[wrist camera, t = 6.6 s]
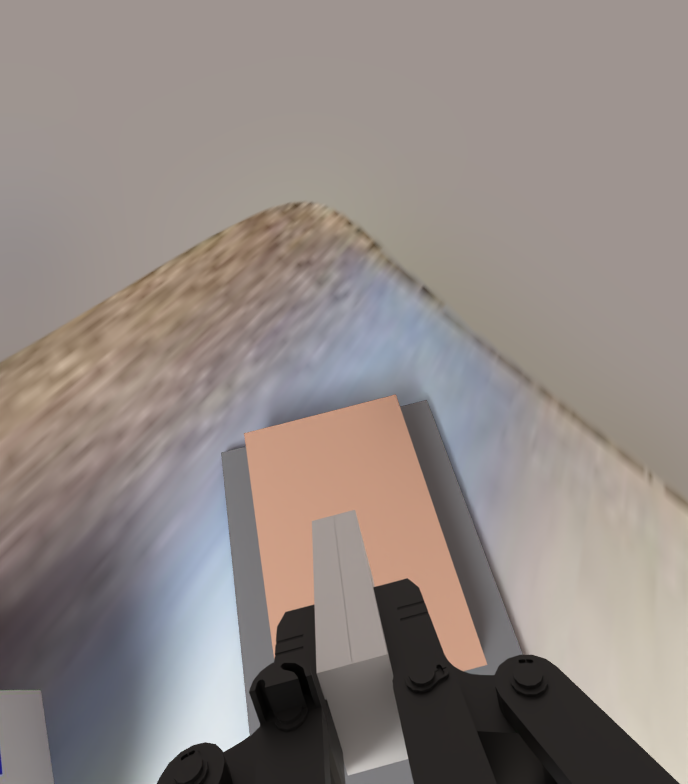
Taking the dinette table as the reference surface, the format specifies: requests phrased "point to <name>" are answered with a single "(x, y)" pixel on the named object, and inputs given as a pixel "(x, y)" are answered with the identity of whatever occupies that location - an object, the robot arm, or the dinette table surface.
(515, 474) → the dinette table surface
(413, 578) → the tile
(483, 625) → the mat
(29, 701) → the puzzle toy
